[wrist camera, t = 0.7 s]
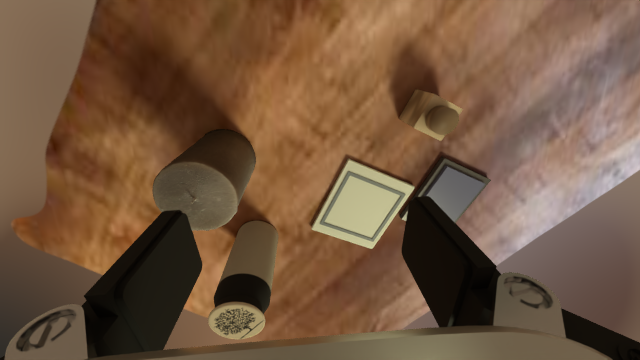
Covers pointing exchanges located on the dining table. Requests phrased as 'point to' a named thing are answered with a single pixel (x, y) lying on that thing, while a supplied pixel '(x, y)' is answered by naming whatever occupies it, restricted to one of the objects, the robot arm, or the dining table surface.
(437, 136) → the stamp
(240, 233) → the travel mug
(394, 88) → the dining table surface
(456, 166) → the grey flat block
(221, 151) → the pillar candle
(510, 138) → the dining table surface
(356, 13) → the dining table surface
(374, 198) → the board
